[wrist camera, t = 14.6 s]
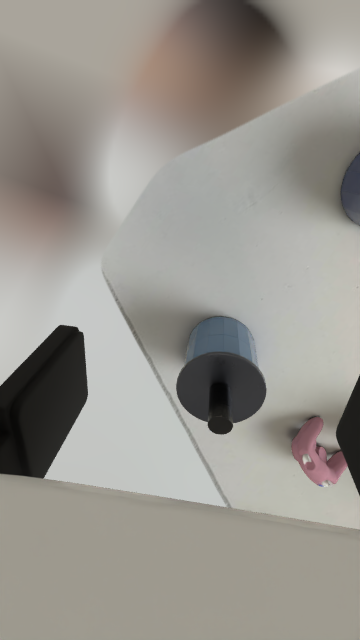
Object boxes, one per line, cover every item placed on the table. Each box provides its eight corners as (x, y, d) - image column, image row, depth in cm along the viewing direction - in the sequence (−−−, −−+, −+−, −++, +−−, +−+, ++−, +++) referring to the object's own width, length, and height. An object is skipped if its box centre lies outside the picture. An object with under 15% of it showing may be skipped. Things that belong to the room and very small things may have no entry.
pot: (176, 349, 44) (166, 391, 36) (214, 304, 40) (212, 340, 32) (226, 381, 46) (226, 429, 38) (267, 341, 42) (278, 384, 34)
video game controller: (293, 414, 49) (281, 455, 45) (321, 413, 46) (312, 457, 41) (324, 453, 52) (316, 495, 47) (353, 454, 48) (347, 500, 44)
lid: (174, 411, 38) (166, 452, 33) (181, 342, 34) (173, 378, 28) (255, 423, 38) (261, 467, 32) (273, 354, 33) (283, 393, 28)
